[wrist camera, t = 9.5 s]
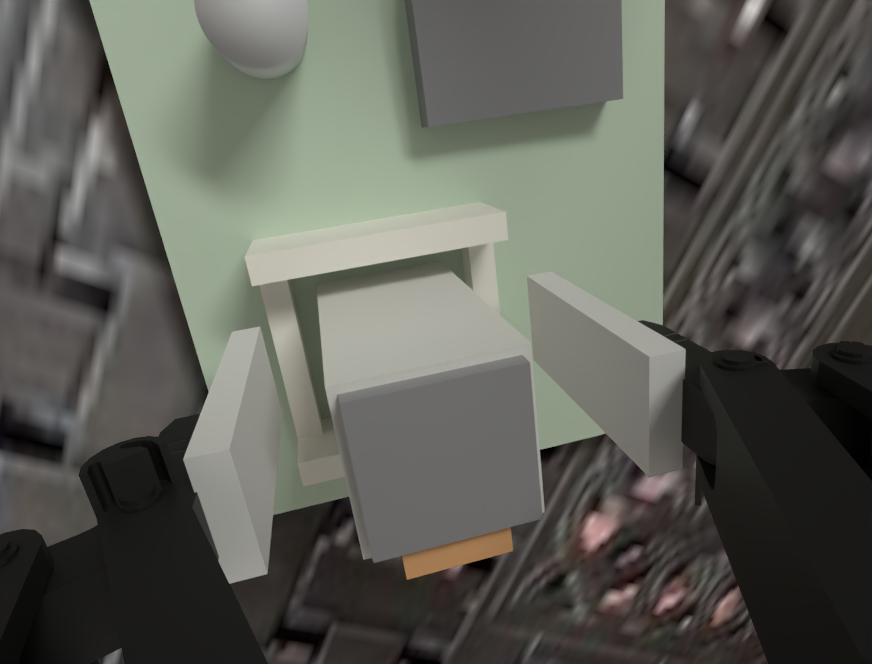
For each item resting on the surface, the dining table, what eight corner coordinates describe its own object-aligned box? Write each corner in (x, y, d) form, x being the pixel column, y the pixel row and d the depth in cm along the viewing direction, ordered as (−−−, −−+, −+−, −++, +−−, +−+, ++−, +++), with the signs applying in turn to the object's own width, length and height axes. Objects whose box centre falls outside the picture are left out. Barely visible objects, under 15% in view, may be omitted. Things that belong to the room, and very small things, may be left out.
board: (80, -72, 15) (0, -147, 11) (642, -118, 17) (740, -191, 13) (250, 501, 21) (238, 583, 17) (645, 406, 24) (712, 459, 20)
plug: (316, 283, 18) (325, 395, 10) (440, 260, 18) (539, 350, 11) (345, 417, 19) (372, 604, 12) (457, 393, 20) (554, 553, 12)
